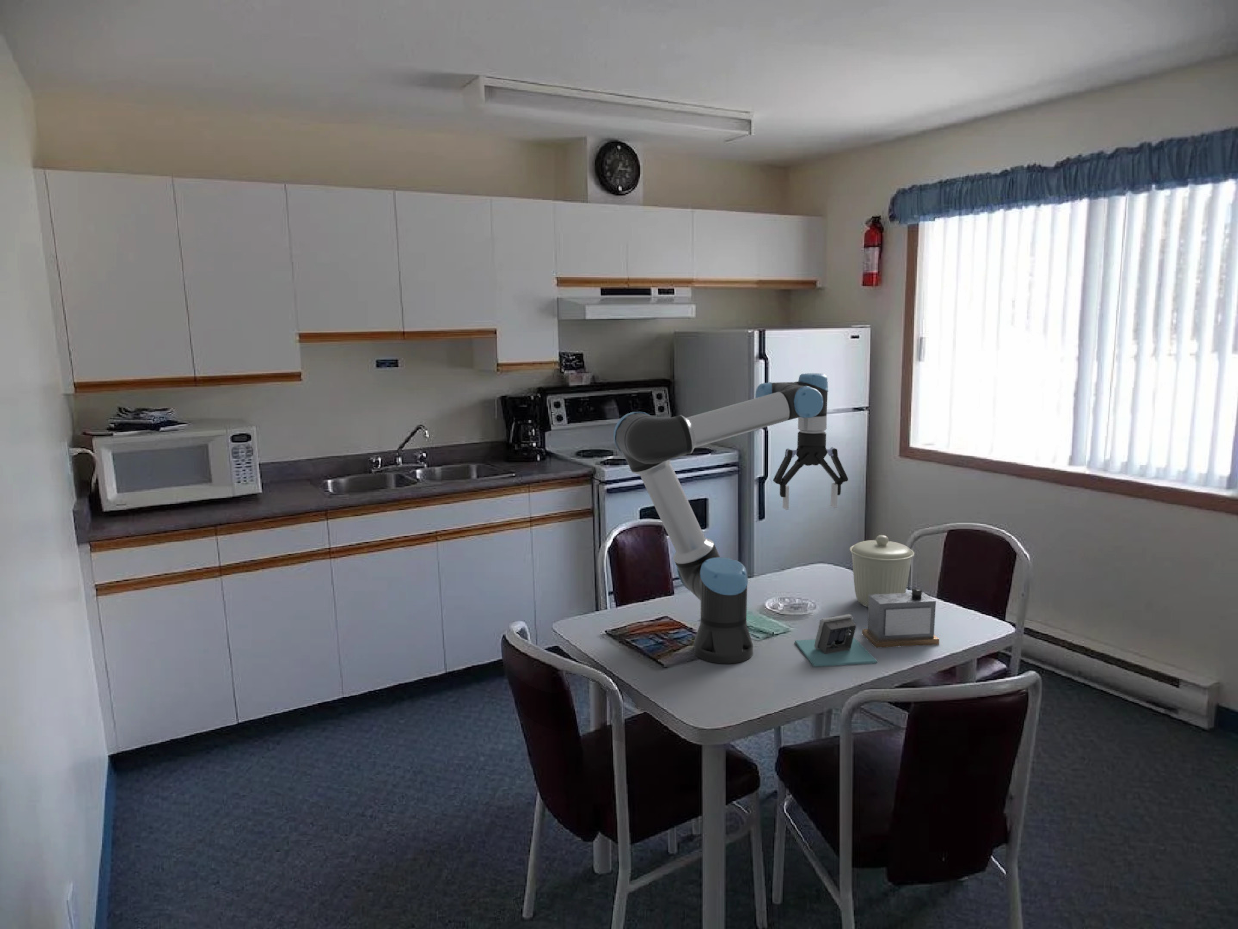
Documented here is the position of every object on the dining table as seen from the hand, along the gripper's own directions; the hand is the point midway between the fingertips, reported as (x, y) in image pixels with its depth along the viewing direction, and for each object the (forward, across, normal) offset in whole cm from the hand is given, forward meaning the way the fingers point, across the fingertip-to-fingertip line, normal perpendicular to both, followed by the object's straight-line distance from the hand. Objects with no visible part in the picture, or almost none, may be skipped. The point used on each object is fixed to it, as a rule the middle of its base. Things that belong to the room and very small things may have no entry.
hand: (809, 507), depth 220 cm
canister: (+33, -26, -10) cm, 43 cm away
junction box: (+33, -20, +16) cm, 42 cm away
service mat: (+33, 0, +22) cm, 39 cm away
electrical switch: (+32, 0, +22) cm, 39 cm away
